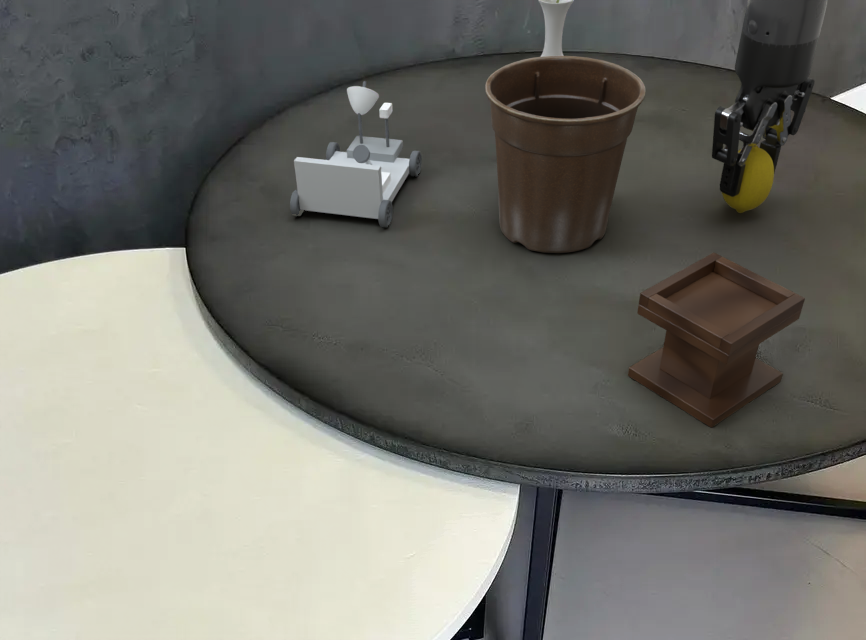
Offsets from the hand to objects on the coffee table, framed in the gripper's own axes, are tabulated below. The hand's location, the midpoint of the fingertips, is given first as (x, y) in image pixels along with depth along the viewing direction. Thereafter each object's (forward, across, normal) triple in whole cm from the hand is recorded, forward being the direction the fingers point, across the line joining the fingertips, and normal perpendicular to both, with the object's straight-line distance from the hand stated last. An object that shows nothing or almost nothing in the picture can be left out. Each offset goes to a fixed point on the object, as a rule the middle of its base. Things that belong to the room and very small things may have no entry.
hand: (746, 183), depth 111 cm
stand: (+3, -27, -17) cm, 32 cm away
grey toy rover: (+4, -29, +34) cm, 45 cm away
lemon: (+4, 0, 0) cm, 4 cm away
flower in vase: (+4, +4, +35) cm, 35 cm away
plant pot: (+4, -18, +12) cm, 22 cm away
